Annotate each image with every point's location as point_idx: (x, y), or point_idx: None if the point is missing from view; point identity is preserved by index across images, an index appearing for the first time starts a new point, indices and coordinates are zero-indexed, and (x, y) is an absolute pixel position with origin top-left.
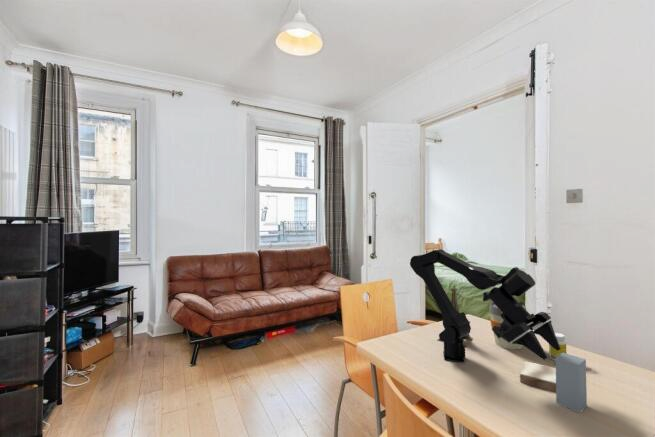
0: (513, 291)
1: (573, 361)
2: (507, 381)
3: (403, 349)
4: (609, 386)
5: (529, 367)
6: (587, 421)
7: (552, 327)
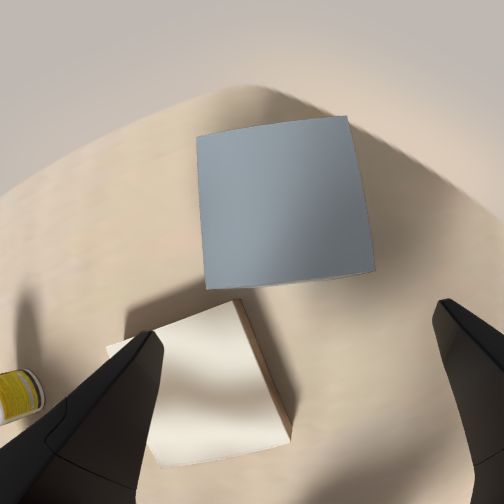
0: None
1: (321, 159)
2: (330, 450)
3: None
4: (71, 231)
5: (198, 441)
6: None
7: (14, 443)
